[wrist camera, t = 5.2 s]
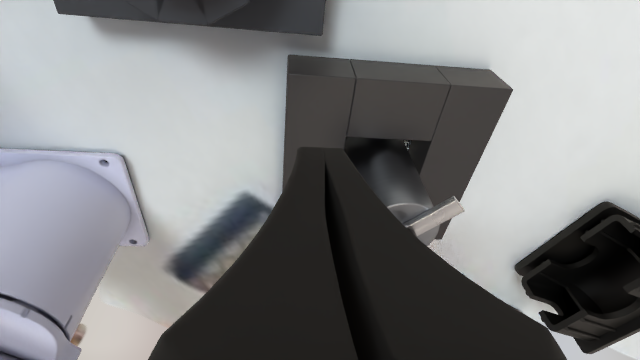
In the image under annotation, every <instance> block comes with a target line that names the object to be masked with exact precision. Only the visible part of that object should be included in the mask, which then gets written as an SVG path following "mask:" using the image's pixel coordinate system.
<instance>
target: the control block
mask: <svg viewBox="0 0 640 360" xmlns="http://www.w3.org/2000/svg"><path fill="white" fill-rule="evenodd" d="M53 1H54V3H55V6H56V9H57V12H58V13H59V14H66V15H78V16H90V17H102V18H114V19H126V20H138V21H150V22H162V23H174V24H186V25H198V26H210V27H222V28H234V29H246V30H258V31H270V32H282V33H294V34H306V35H318V36H322V33H323V23H324V13H325V3H326V0H53Z"/></svg>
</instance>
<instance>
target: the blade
mask: <svg viewBox="0 0 640 360" xmlns="http://www.w3.org/2000/svg"><path fill="white" fill-rule="evenodd" d="M344 151H345V153H346V154H347V156H348V157H349V159H350V160H351V162H352V163H353V165H354V166H355V167H356V169H357V170H358V172H359V173H360V174H361V176H362V177H363V179H364V180H365V181H366V183H367V184H368V185H369V186H370V188H371V189H372V190H373V191H374V193H375V194H376V195H377V196H378V198H379V199H380V200H381V201H382V202H383V204H384V205H385V206H386V207H387V208H388V209H389V210H390V211H391V212H392V214H393V215H394V216H395V217H396V218H397V219H398V220H399V221H400V222H401V223H402V224H403V225H404V226H405V227H406V228H407V229H408V230H409V231H410V232H411V233H413V234H414V235H415V236H416V237H417V238H418V239H419V240H420V241H421V242H422V243H424V244H425V245H426V246H428V245H429V244H430V243H431V242H432V241H433V240H434V239H435V237H436V235H437V234H438V231H439V227H440V224H441V223H443V222H445V221H447V220H449V219H451V218H453V217H455V216H456V215H458V214H460V213H462V212H464V208H463V207H462V205H461V204H460V203H459V202H458V200H457V199H456V198H455V196H453V197H451V198H449V199H447V200H445V201H443V202H442V203H440V204H438V205H436V206H434V207H433V205H432V202H431V200H430V198H429V196H428V194H427V191H426V189H425V187H424V185H423V183H422V181H421V178H420V176H419V174H418V172H417V170H416V167H415V165H414V163H413V161H412V159H411V157H410V154H409V152H408V150H407V148H406V146H405V144H404V141H403V140H399V139H379V138H360V137H347V139H346V142H345V148H344Z"/></svg>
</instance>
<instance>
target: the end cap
mask: <svg viewBox="0 0 640 360" xmlns="http://www.w3.org/2000/svg"><path fill="white" fill-rule="evenodd" d="M515 269H516V271H517V273H518V274H519V275H522V276H524V277H523V278H522V285H523V287H524V289H525V291H526V295H527V296H529V297H530V298H531V299H534V300H537V301H541V302H544V303H547V304H549V305H551V306H552V307H553V308H554V309H555V310H556V311H557V313H558V315H557V314H553V313H550V312H547V311H544V310H542V311H541V312H539V314H540V316H541V320H542V322H544V323H545V324H546V326H547V327H548V328H549V329H550V330H551V331H554V332H558V333H561V334H564V335H568V336H572V337H573V338H574V339H575V341H576V342H577V344H578V345H579V347H580V349H581V350H582V351H583V352H584V353H587V354H593V353H595V352H597V351H599V350H602V349H604V348H606V347H608V346H610V345H612V344H614V343H616V342H618V341H621V340H623V339H625V338H627V337H629V336H631V335H633V334H635V333H637V332H639V331H640V218H638V217H636V216H635V215H633V214H631V213H629V212H627V211H625V210H624V209H622V208H620V207H618V206H616V205H614V204H612V203H610V202H604V203H601V204H600V205H598V206H596V207H595V208H594V209H592V210H591V211H590V212H588V213H587V214H585V215H584V216H583V217H581V218H580V219H579V220H577V221H576V222H574V223H573V224H572V225H570V226H569V227H568V228H566V229H565V230H563V231H562V232H561V233H559V234H558V235H557V236H555V237H554V238H552V239H551V240H550V241H548V242H547V243H546V244H544V245H543V246H541V247H540V248H539V249H537V250H536V251H535V252H533V253H532V254H530V255H529V256H528V257H526V258H525V259H524V260H522V261H521V262H519V263H518V264H517V265H516V266H515Z"/></svg>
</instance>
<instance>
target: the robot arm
mask: <svg viewBox="0 0 640 360" xmlns="http://www.w3.org/2000/svg"><path fill="white" fill-rule="evenodd" d="M103 160H106V161H108V163H106V162H104V161H103ZM148 242H149V236H148V233H147V230H146V227H145V224H144V220H143V217H142V214H141V211H140V208H139V205H138V202H137V199H136V195H135V192H134V189H133V186H132V183H131V180H130V177H129V174H128V170H127V167H126V164H125V161H124V159H123V158H122V157H121V156H120V155H118V154H114V153H96V152H72V151H49V150H25V149H2V148H0V360H77V359H78V357H79V355H80V352H81V348H79V347H77V346H75V345H73V344H72V343H70V341H71V339H72V337H73V335H74V333H75V331H76V329H77V327H78V325H79V323H80V321H81V319H82V317H83V315H84V313H85V311H86V309H87V307H88V305H89V303H90V301H91V299H92V297H93V295H94V293H95V291H96V289H97V287H98V286H99V284H100V282H101V280H102V278H103V276H104V274H105V272H106V270H107V268H108V266H109V264H110V262H111V260H112V258H113V256H114V254H115V252H116V250H117V248H118V246H145V245H147V244H148ZM148 360H567V359H566V357H565V355H564V354H563V352H562V350H561V349H560V347H559V345H558V344H557V342H556V341H555V339H554V338H553V336H552V334H551V333H550V332H549V330H548V328H546V327H545V326H543V325H541V324H540V323H538V322H536V321H535V320H533V319H531V318H530V317H528V316H526V315H525V314H523V313H521V312H520V311H518V310H516V309H515V308H513V307H511V306H510V305H508V304H506V303H505V302H503V301H501V300H500V299H498V298H497V297H495V296H494V295H492V294H490V293H489V292H488V291H486V290H485V289H483V288H482V287H480V286H479V285H477V284H476V283H474V282H473V281H471V280H470V279H468V278H467V277H466V276H464V275H463V274H462V273H460V272H459V271H457V270H456V269H455V268H453V267H452V266H451V265H449V264H448V263H447V262H446V261H444V260H443V259H442V258H441V257H439V256H438V255H437V254H436V253H434V252H433V251H432V250H431V249H429V248H428V247H427V246H426V245H425V244H424V243H422V242H421V241H420V240H419V239H418V238H417V237H416V236H415V235H414V234H413V233H411V232H410V231H409V230H408V229H407V228H406V227H405V226H404V225H403V224H402V223H401V222H400V221H399V220H398V219H397V218H396V217H395V216H394V215H393V214H392V212H391V211H390V210H389V209H388V208H387V207H386V206H385V205H384V204H383V202H382V201H381V200H380V199H379V198H378V196H377V195H376V194H375V193H374V191H373V190H372V189H371V188H370V186H369V185H368V184H367V183H366V181H365V180H364V179H363V177H362V176H361V174H360V173H359V172H358V170H357V169H356V167H355V166H354V165H353V163H352V162H351V160H350V159H349V157H348V156H347V154H346V153H345V151H344V150H343V149H342V148H322V147H300V148H299V149H297V155H296V160H295V164H294V167H293V169H292V172H291V175H290V177H289V179H288V182H287V184H286V186H285V188H284V190H283V192H282V194H281V196H280V198H279V200H278V201H277V203H276V205H275V207H274V209H273V210H272V212H271V214H270V215H269V217H268V218H267V220H266V222H265V223H264V225H263V226H262V227H261V229H260V230H259V232H258V233H257V235H256V236H255V237H254V239H253V240H252V241H251V243H250V244H249V245H248V246H247V248H246V249H245V250H244V252H243V253H242V254H241V255H240V257H239V258H238V259H237V260H236V261H235V263H234V264H233V265H232V266H231V267H230V268H229V269H228V270H227V271H226V272H225V274H224V275H223V276H222V277H221V278H220V279H219V280H218V281H217V282H216V283H215V284H214V285H213V286H212V287H211V289H210V290H209V291H208V292H207V293H206V294H205V295H204V296H203V297H202V298H201V299H200V300H199V301H198V302H197V303H195V304H194V305H193V306H192V307H191V308H190V309H189V310H188V311H187V312H186V313H185V314H184V315H182V316H181V317H180V318H179V319H178V320H177V321H176V322H175V323H174V324H173V325H172V326H171V327H169V328H168V329H167V330H166V331H165V332H164V333H163V334H162V335H161V337H160V339H159V340H158V342H157V344H156V346H155V348H154V350H153V351H152V353H151V356H150V357H149V359H148Z"/></svg>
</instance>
